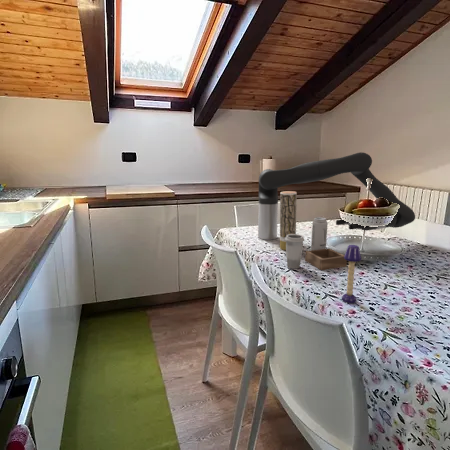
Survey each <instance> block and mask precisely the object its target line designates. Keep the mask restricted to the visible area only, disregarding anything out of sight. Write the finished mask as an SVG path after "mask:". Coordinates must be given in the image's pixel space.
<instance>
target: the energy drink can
mask: <svg viewBox="0 0 450 450" xmlns="http://www.w3.org/2000/svg"><path fill="white" fill-rule="evenodd" d="M311 228H312V229H311V241H310V242H311V244H310V245H311V246H310V251H311V250H319V249H327V240H328V239H327V236H328V221H327V218H326V217H321V216H320V217H319V216H317V217H314V218H313V221H312V227H311Z"/></svg>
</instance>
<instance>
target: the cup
mask: <svg viewBox="0 0 450 450" xmlns="http://www.w3.org/2000/svg"><path fill="white" fill-rule="evenodd" d="M285 240H286V250H285V251H286V253H285V254H286V264H287V265H286V266H287V268H289V269H293V270H294V269H296V270H298V269H300V267H301V261H302V260H301V259H302V257H303V256H302V255H303V248H304V242H305V238H304V236H303V235H302V234H298V233H296V234H289V235H287V236H286V238H285Z"/></svg>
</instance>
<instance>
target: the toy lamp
mask: <svg viewBox="0 0 450 450" xmlns="http://www.w3.org/2000/svg"><path fill="white" fill-rule="evenodd" d="M344 255H345V256H344V259H345V260H347V261H348V265H347V266H348V271H347V280H346V281H347V285H346V293H344V294H342V296H341V301H342V300H343V301H342V302H344V303H346V302H348V303H347V304H355V303H356V302H358V301H357V297H356V296H355V295H354V294H353V293H354V291H353V290H354V283H355V282H354V279H355V269H356V266H355V264H356V263H357V262H360V261H362V256H361V255H362V254H361V251H360V247H359V246H358V245H357V244H356V245H355V244H349V245H348V246H347V248H346V251H345V254H344Z"/></svg>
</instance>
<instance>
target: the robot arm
mask: <svg viewBox="0 0 450 450" xmlns="http://www.w3.org/2000/svg"><path fill="white" fill-rule="evenodd" d="M372 163H373V160H372V157H371V156H370V154H368V153H366V152H362V151H361V152H356V153H353V154H352V153H351V154H350V155H346V156H342V157H341V156H340V157H337V158H336V157H335V158H327V159H321V160H315V161H310V162H305V163H304V162H303V163H301V164H298V165H295V166H293V167H290V168H285V169H270V168H266V169H264V170H262V171H261V172H260V174H259V175H258V219H257V220H258V221H257V227H258V228H257V236H258V239H261V240H265V241H266V240H268V241H269V240H275V239H277V238H278V215H279V213H278V212H279V209H278V208H279V196H278V195H279V192H278V191H279V190H278V188H281V187H285V186H289V185H294V184H295V185H296V184H297V185H300V184H307V183H312V182H313V183H314V182H320V181H323V180H326V179H329V178H330V179H331V178H333V177H335V176H338V175H341V174H349V173H350V174H352V176H354V177H355V178H356V179H357V180H358V181H360V183H361V184H362V185H363V186H365V187H366V188H367V182H366V179H367V178H371V179H373V181H372V184H371V188H370V190H369V192H370V193H371V194H372V195H373V196H374V197H375V198H376V200H377V198H379V197H383V198H385V199H387V200H388V201H390V202H393V203H397V204H399V205H400V208H399V209H398V212H397V214H396V215H395V216H394V218H393V220H392V221H391V223H389V224H388V225H385V226H378V227H369V226H366V227H365V228H364V226H361V225H358V224H353V223H349V222H346V221H344V220H342V218H341V219H337V220H335V225H336V226H343V225H347V226H348V230H361V231H374V230H380V229H387V228H395V229H396V228H402V227H404V226H406V225H408V224H411V223H413V222H414V221H415V220H416V213H415V212H414V210H413V209H412V208H411V207H410V206H408V205H407V204H406V203H404V202H403V201H401V200H400V199H399V198H398V197H397V196H396V195H395V193H394V192H393V191H392V190H391V189H390V187H388V186H387V185H386V184H385V183H383V182H382V181H381V180H379V179H378V178H377V176H375V175H374V173H372V171H371V170H370V168H371V166H372Z"/></svg>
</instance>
